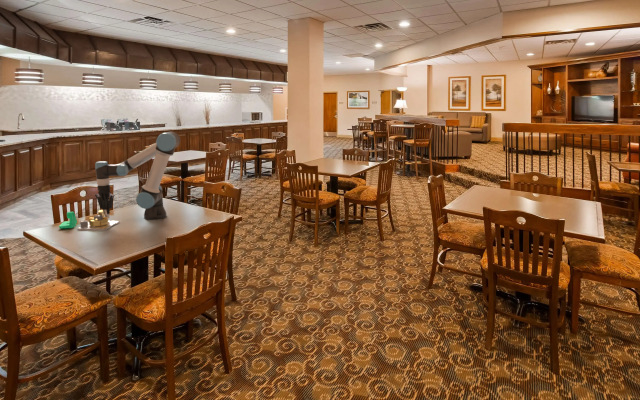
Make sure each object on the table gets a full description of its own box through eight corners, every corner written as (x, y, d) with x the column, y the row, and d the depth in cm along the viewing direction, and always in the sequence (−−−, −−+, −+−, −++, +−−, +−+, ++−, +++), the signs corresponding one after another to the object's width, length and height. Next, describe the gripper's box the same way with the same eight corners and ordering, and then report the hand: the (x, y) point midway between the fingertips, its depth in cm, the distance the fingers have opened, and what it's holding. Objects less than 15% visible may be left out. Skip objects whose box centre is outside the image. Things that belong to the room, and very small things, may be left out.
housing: (119, 222, 276) (118, 212, 274) (105, 230, 258) (103, 219, 257) (92, 222, 276) (91, 212, 275) (76, 229, 259) (74, 219, 257)
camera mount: (64, 225, 270) (62, 210, 267) (77, 224, 272) (75, 209, 269) (59, 230, 258) (56, 214, 256) (72, 229, 261) (70, 214, 258)
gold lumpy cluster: (105, 225, 263) (104, 215, 262) (87, 226, 260) (86, 216, 259) (111, 219, 278) (110, 209, 276) (94, 220, 275) (93, 210, 274)
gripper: (115, 183, 272) (119, 217, 277) (98, 183, 274) (102, 216, 279) (108, 186, 265) (112, 220, 270) (91, 185, 266) (95, 219, 272)
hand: (107, 218), depth 274 cm, fingers closed
